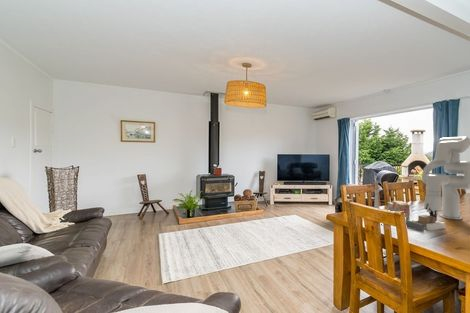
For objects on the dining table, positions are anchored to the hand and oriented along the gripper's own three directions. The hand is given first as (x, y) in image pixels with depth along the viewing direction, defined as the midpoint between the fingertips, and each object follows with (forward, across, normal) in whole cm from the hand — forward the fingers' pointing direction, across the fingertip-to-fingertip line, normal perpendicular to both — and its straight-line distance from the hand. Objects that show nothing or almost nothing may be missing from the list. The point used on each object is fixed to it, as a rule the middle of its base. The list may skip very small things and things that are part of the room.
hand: (433, 220), depth 156 cm
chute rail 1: (+4, +4, -4) cm, 7 cm away
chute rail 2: (+4, +4, +4) cm, 7 cm away
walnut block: (+4, +6, 0) cm, 7 cm away
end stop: (+4, +17, 0) cm, 17 cm away
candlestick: (+4, +28, -18) cm, 34 cm away
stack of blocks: (+4, +2, -23) cm, 23 cm away
